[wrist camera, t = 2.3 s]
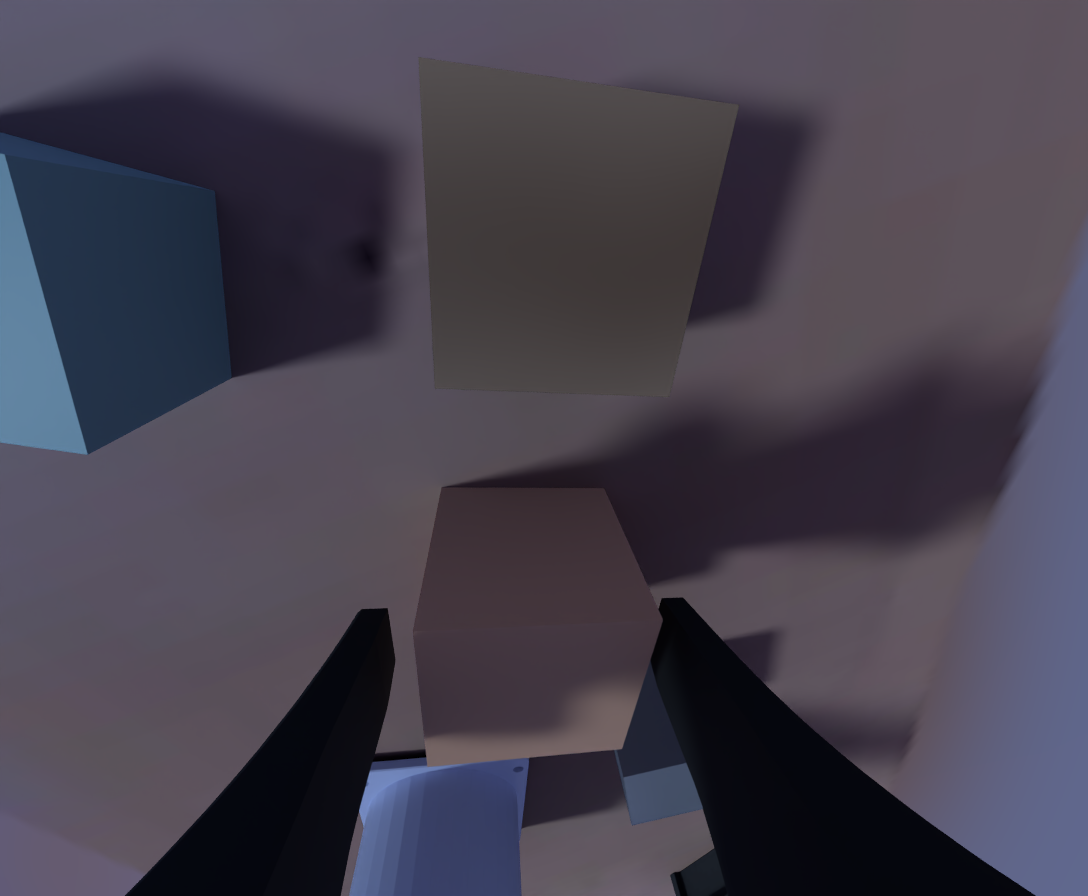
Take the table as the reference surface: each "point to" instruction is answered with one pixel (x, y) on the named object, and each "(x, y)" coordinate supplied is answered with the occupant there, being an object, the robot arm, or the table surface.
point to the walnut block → (563, 228)
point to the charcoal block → (654, 762)
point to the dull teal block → (102, 297)
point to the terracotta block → (529, 626)
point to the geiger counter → (700, 878)
